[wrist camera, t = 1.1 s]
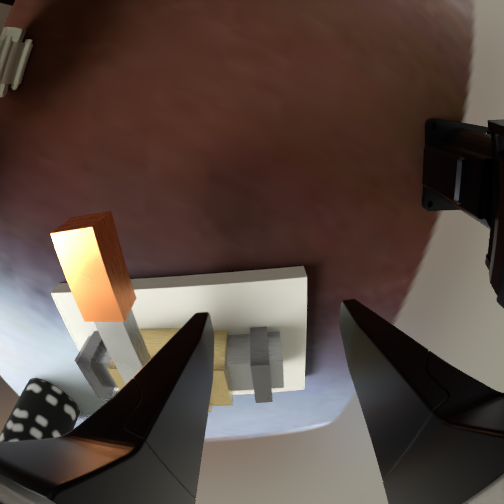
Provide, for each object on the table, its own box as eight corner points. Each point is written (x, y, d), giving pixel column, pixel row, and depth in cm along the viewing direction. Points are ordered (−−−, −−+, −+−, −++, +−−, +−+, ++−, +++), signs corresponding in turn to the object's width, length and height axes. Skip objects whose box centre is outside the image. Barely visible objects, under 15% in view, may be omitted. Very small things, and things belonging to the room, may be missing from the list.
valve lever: (186, 405, 19) (181, 437, 16) (157, 403, 19) (150, 435, 17) (119, 203, 13) (92, 227, 10) (81, 210, 13) (50, 233, 10)
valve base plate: (303, 265, 21) (307, 276, 20) (302, 377, 26) (304, 389, 25) (59, 283, 22) (50, 292, 20) (106, 379, 27) (102, 389, 26)
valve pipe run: (279, 322, 21) (284, 366, 17) (281, 366, 23) (285, 408, 20) (84, 328, 22) (63, 363, 18) (104, 367, 24) (89, 402, 20)
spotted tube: (73, 423, 33) (37, 533, 15) (26, 392, 30) (-21, 498, 12) (85, 404, 30) (41, 537, 12) (31, 369, 27) (-30, 494, 10)
